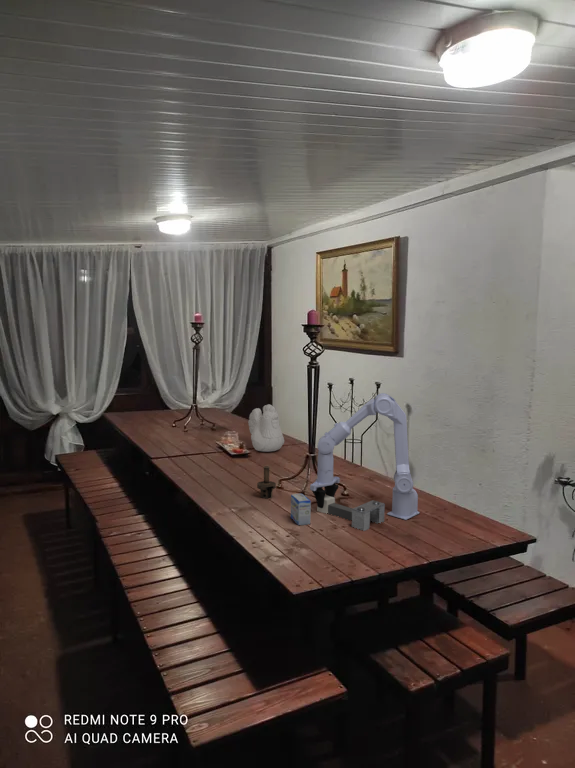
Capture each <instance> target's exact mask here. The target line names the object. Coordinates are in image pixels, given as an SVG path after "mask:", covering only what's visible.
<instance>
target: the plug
mask: <svg viewBox="0 0 575 768" xmlns="http://www.w3.org/2000/svg"><path fill="white" fill-rule="evenodd" d="M316 506H317V505H316ZM353 508H354V507H353ZM353 508H352V507H349V506H345V505H342V504H339V503H336V497H335V496H334V497H331V496H328V495H326V494H325V498H324V506H323V508H320V507H318V506H317V507H316V510H317V512H318V513H322V514H325V513H326V514H325V515H331V514H332V516H334V515H336V516H335V517H337V516H339V517H338V518H340V517H342V518H341V519H343V518H345V519H344V520H346V519H348V520H347V521H350V520H352V509H353ZM327 513H328V514H327Z"/></svg>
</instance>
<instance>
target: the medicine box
mask: <svg viewBox="0 0 575 768" xmlns="http://www.w3.org/2000/svg"><path fill="white" fill-rule="evenodd" d="M311 506H312V501H311V500H310V498H308V497H307V496H306V495H304V494H303V493H294V494H293V493H292V494H291V496H290V519H291V520H292V519H293V520H294V521H295V522H294V521H293V520H292V521H293V522H294V523H295V524H296V525H298V526H299V525H301V526H308V524H309V525H310V524H311V513H312V512H311V510H312V507H311Z"/></svg>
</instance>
